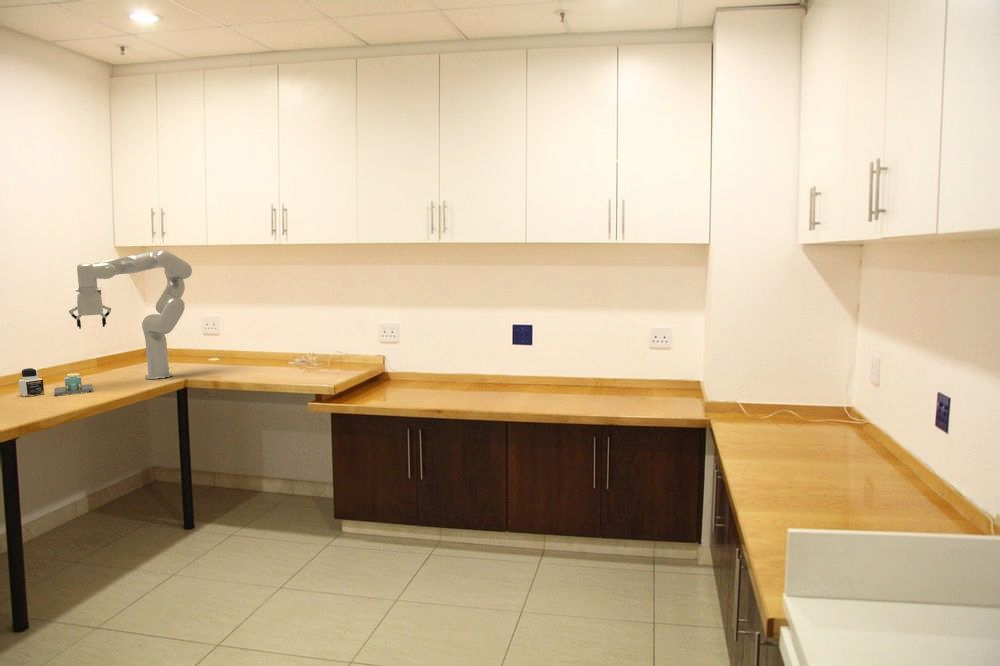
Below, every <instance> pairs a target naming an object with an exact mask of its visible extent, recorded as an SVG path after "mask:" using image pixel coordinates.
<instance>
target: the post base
mask: <svg viewBox="0 0 1000 666" xmlns="http://www.w3.org/2000/svg"><path fill="white" fill-rule="evenodd" d="M93 387H94V386H93V384H92V383H88V384H87V383H86V384H82V388H81V385H78V389H77V390H69V386H66V387H65V386H58V387H54V390H53V391H54V393H53V394H54V396H55V395H60V396H63V395H62V394H69V395H73V394H72V393H78V394H82V393H81V392H87V393H90V392H89V391H93V392H94V388H93Z"/></svg>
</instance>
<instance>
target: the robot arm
mask: <svg viewBox="0 0 1000 666" xmlns="http://www.w3.org/2000/svg"><path fill="white" fill-rule="evenodd" d="M158 268H163V269H164V275H165V278H166V286H165V289H164V290H163V292H162V294H161V295H160V297H159V298H158V300H157V301H156V303H155V310H156V312H157V313H159V314H156V313H155V314H149V315H146V316H145V317H144V318H143V320H142V322H141V327H142V332H143V336H144V341H145V351H146V352H145V353H146V362H147V364H146V365H147V375H145V376H144V378H145V380H159V379H158V378H162V379H166V378H165V377H168V378H171V377H170V376H172V377H173V376H174V375H173V373H172V372H170V367H169V356H168V342H167V337H166V335H168V334H170V333H171V332H172V331H173V330H174V328H175V327H176V325H177V324H178V323H179V320H180V319H181V317H182V316H183V314H184V312H185V309H186V307H185V302H184V301H183V299H182V297H183V295H184V292H185V289H186V286H185V281H184V280H186V279H188V278H190V277H191V276H192V273H193V269H192V266H191V265H190V264H189V263H188V262H187V261H185V260H183V259H182V258H180V257H178V256H177V255H175V254H173V253H172V252H170V251H167V250H166V249H162V250H151V251H146V252H145V251H144V252H142V253H137V254H132V255H127V256H122V257H120V258H113V259H109V260H104V261H99V262H95V263H80V264H77V266H76V272H77V281H78V283H77V284H78V288H75V292H77V293H78V294H77V298H76V299H77V300H76V303H77V304H76V307H74V308H72V309H70V310H68V313H69V315H70V316H71V317H72V318H74V320H76V327H77V328H79V329H80V330H81V329H82V325H81V323H82V322H81V317H82V316H84V317H86V316H96V315H97V316H98V315H100V316H101V317H102V318H101V320H102V327H103V328H105V326H107V320H106V319H107V317H108V316H109V315H110V313H111V311H112V308H111V307H108V306H106V305H103V299H102V296H101V293H99V290H98V280H109V279H112V278H113V277H114V276H117V275H129V274H136V273H141V272H145V271H150V270H153V269H158ZM104 310H106V313H104ZM76 311H77V314H78V315H76V314H75V313H74V312H76Z"/></svg>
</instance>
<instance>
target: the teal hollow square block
mask: <svg viewBox="0 0 1000 666" xmlns="http://www.w3.org/2000/svg"><path fill="white" fill-rule="evenodd" d="M64 385H65V386H64V387H66V386H69V390H77V389H78V385H81V388H82V385H83V384H82V376H81V375H74V376H66V377H65V376H64Z"/></svg>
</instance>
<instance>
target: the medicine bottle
mask: <svg viewBox="0 0 1000 666" xmlns="http://www.w3.org/2000/svg"><path fill="white" fill-rule="evenodd" d="M38 371H39V369H38V368H36V367H35V368H34V367H32V368H31V367H30V368H23V369H21V377H22V379H19V380H18V382H17V383H18V389H19V396H20V395H22V396H21V397H25V396H31V397H34V396H33V395H36V396H39V395H38V394H42V395H45V386H44V379H43V378H40V377H39V372H38Z"/></svg>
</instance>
